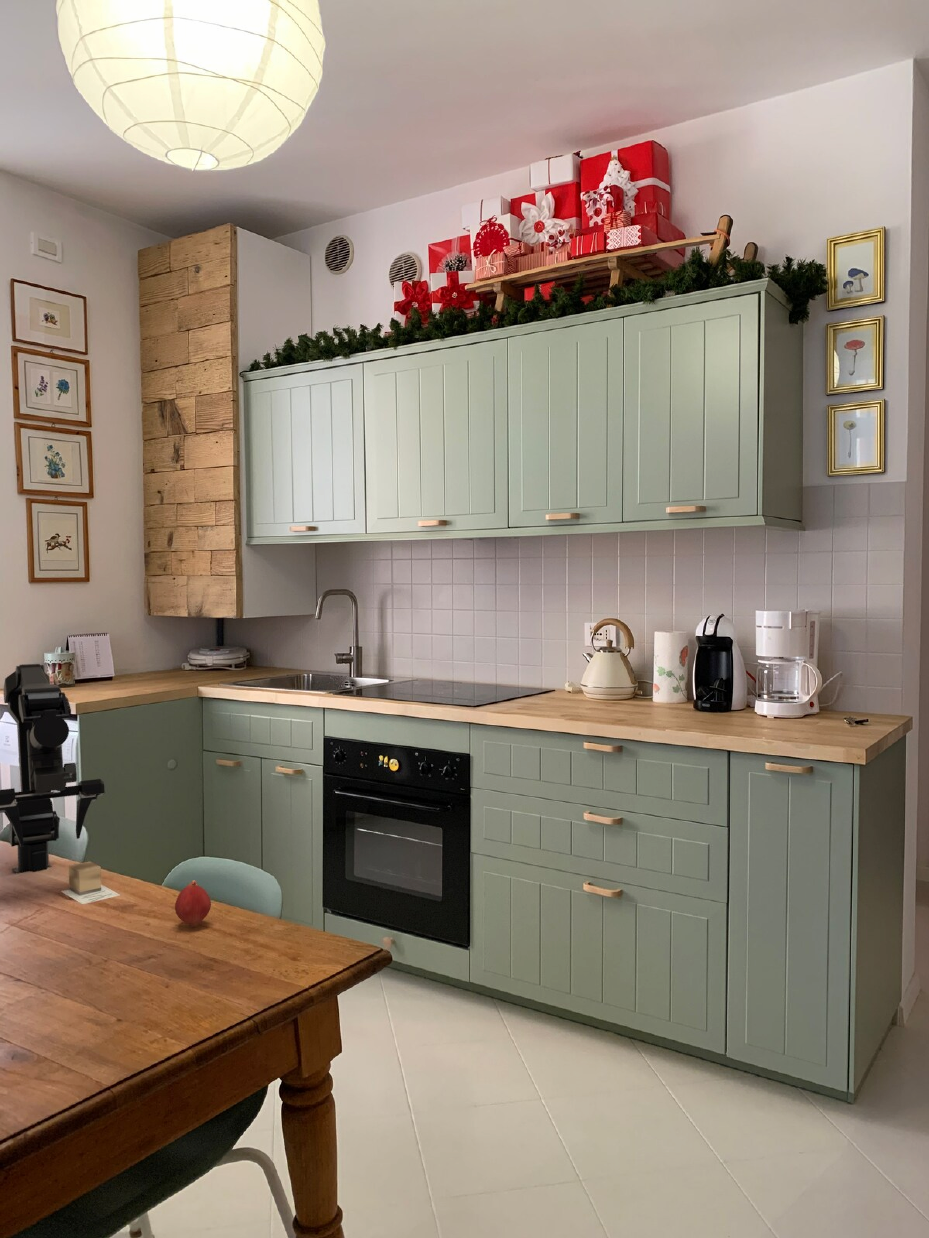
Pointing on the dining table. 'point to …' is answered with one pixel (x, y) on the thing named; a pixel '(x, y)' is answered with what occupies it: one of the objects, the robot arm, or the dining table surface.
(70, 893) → the board
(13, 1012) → the dining table surface
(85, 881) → the block
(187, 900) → the onion
